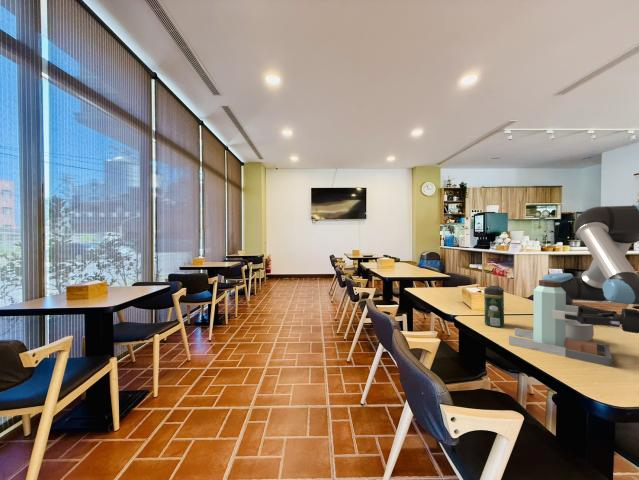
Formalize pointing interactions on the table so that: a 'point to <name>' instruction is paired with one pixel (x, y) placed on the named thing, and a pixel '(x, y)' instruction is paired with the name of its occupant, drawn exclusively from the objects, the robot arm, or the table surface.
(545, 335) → the water bottle
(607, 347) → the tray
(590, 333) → the teacup
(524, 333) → the slot rails
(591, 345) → the block
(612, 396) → the table surface
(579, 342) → the block
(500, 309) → the coffee jar
